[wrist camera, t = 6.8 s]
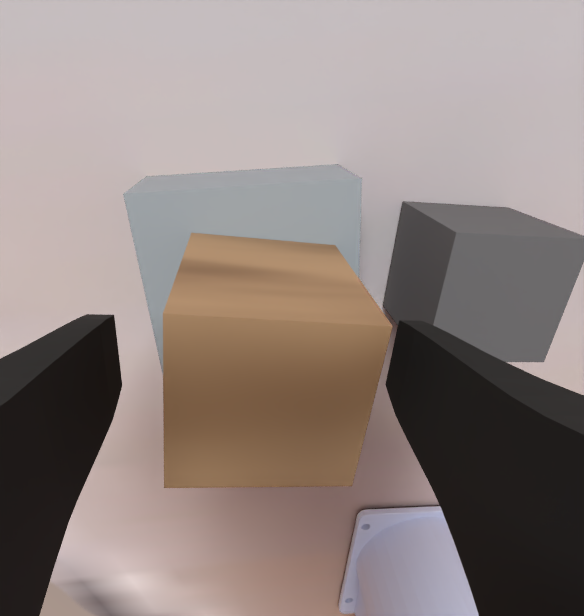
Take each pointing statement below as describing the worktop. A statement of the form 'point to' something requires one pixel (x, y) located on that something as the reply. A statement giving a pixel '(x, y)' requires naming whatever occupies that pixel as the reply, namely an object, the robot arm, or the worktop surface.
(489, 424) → the robot arm
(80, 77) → the worktop surface
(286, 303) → the walnut block
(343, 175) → the slate base block
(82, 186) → the worktop surface
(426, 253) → the charcoal block
